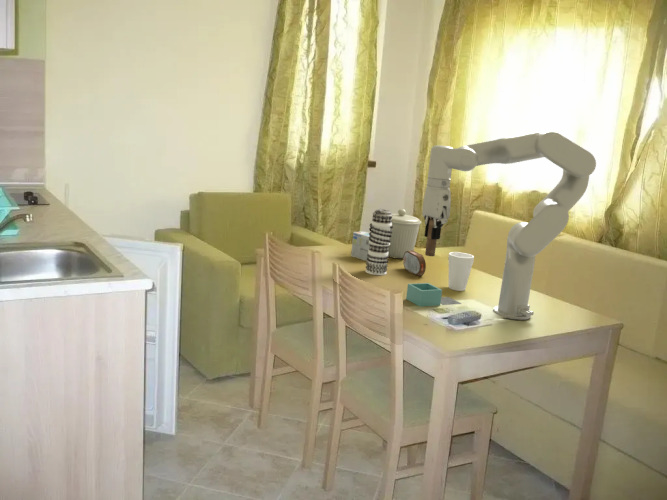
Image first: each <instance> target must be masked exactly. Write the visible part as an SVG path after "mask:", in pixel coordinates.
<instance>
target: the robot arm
mask: <svg viewBox="0 0 667 500" xmlns="http://www.w3.org/2000/svg"><path fill="white" fill-rule="evenodd" d="M541 158H545V159H546V160H548V161H550V162H551V163H553V165H554V164H555V165H556V166H558V167H559V168H561V169H562V176H561V179H560V180H559V182H558V183H557V184H556V186H555V187H554V188H553V189H552V190H551V191H549V193H548V194H547V195H545V196H544V198H543V199H542V200H540V202H538V203H537V204H536V205H535V206H534V209H533V211H532V216H533V218H532V219H531V220H530V221H529V222H526V221H522V222H517V223H515V224H514V225H513V226H512V227H511V228H510V229H509V231H508V234H507V239H506V253H505V260H504V268H503V273H502V280H501V286H500V293H499V299H498V304H497V305H496V306H494V307H492V311H493V313H495V314H496V315H499V316H501V317H504V318H506V319H510V320H515V321H516V320H517V321H520V320H521V321H526V320H529V319H531V317H532V316H533V315H534V311H532V310H530V308H531V307H530V305H529V300H530V292H531V287H532V282H533V274H534V271H535V264H536V256H537V255H538V254H541V252H543V250H544V249H546V248H547V246H549V245H550V244H551V243H552V242H553V241H554V240H555V239H556V238H557V236H559V235H560V234H561V233H562V232H563V231H564V230H565V228H566V227H567V225H568V222H569V220H570V219H569V218H570V217H569V212H570V210H572V208H573V207H575V205H576V204H578V202H579V201H580V200H581V198H582V197H583V196H584V194H585V193H586V190H587V189H588V186H589V185H588V184H589V180H590V176H591V174H593V173H594V171H595V170H596V167H597V162H596V161H597V160H596V157H595V156H594V155H593V154H592V153H591V152H590V151H589V150H587V149H585V148H584V147H582V146H580V145H579V144H577V143H576V142H574V141H572V140H570V139H569V138H568V137H566V136H564V135H563V134H561V133H560V132H558V131H556V130H552V129H551V130H550V129H544V130H538V131H532V132H529V133H524V134H518V135H512V136H507V137H503V138H498V139H495V140H488V141H482V142H478V143H477V142H476V143H471V144H466V145H462V146H459V147H457V148H453V147H452V146H448V145H437V144H436V145H433V146H432V147H431V149H430V157H429V165H428V173H427V179H426V180H427V181H426V188H425V191H424V196H423V202H422V212H421V215H422V217H423V219H424V225H425V228H424V237H425V238H427V235H428V227H429V220H430V219H434V227H432V234H431V239H437V240H441V239H440V238H441V233H442V232H441V231H442V228H443V226H444V225H445V224H446V223H448V221H449V220H448V219H450V216H451V215H450V214H451V208H452V207H451V204H452V195H451V194H452V192H451V189H450V187H451V182H452V181H451V180H452V171H453V170H457V171H461V172H470V171H472V170H474V169H475V168H476V167H478V166H484V165H491V164H500V165H501V164H502V165H503V164H505V165H506V164H515V163H516V164H517V163H520V162H525V161H530V160H531V161H532V160H536V159H541ZM437 220H439V221H438V222H437Z"/></svg>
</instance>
